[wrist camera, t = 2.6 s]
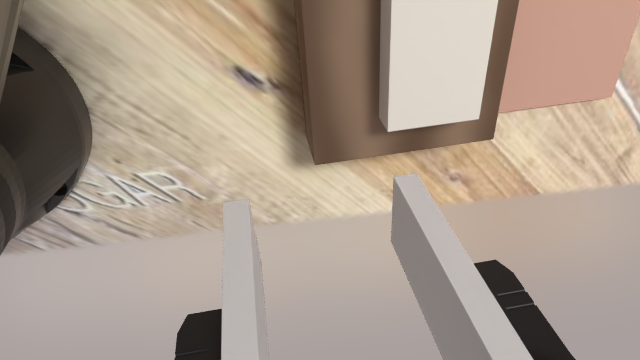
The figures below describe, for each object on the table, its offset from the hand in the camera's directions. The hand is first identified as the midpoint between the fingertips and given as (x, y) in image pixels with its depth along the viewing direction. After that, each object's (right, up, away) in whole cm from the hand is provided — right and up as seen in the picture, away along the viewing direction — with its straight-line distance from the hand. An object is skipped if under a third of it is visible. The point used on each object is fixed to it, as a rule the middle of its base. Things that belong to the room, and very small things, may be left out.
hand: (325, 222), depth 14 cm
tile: (+6, +10, +13) cm, 17 cm away
